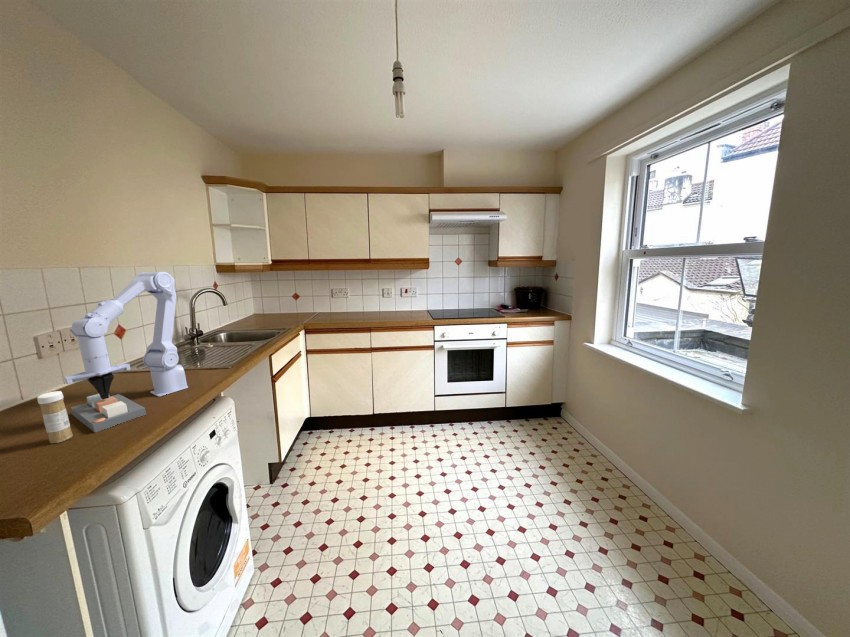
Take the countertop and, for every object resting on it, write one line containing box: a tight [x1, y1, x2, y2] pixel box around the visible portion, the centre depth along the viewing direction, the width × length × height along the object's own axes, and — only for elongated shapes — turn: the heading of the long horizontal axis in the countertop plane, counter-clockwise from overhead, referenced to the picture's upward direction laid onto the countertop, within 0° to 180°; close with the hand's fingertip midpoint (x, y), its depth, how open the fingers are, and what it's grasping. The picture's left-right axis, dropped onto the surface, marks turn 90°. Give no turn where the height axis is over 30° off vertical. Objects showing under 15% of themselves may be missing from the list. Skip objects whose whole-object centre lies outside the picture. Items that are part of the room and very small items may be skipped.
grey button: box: [86, 393, 111, 408], centre depth 109 cm, size 4×4×3 cm
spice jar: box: [36, 390, 74, 444], centre depth 91 cm, size 5×5×14 cm
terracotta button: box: [94, 395, 118, 413], centre depth 105 cm, size 4×4×3 cm
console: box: [70, 393, 147, 433], centre depth 106 cm, size 12×23×3 cm, turn 58°
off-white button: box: [102, 401, 128, 418], centre depth 101 cm, size 4×4×3 cm
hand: (105, 398), depth 105 cm, fingers closed
